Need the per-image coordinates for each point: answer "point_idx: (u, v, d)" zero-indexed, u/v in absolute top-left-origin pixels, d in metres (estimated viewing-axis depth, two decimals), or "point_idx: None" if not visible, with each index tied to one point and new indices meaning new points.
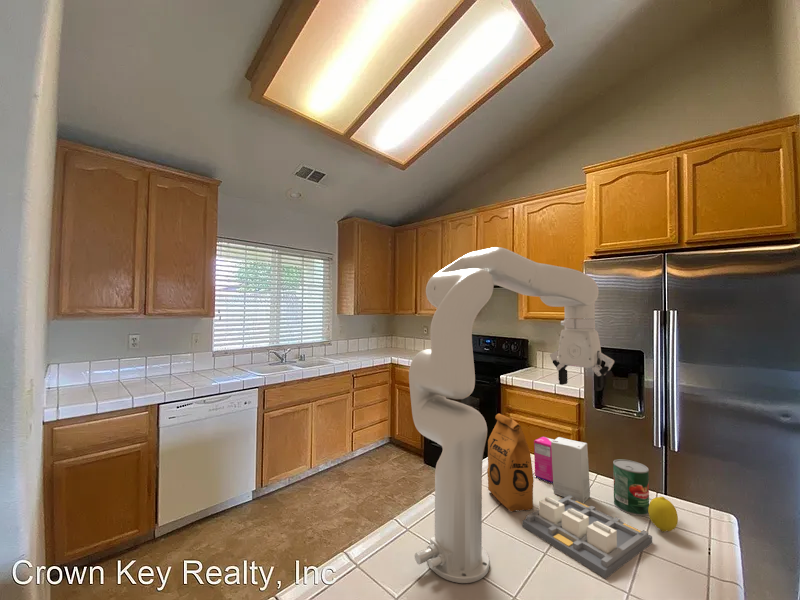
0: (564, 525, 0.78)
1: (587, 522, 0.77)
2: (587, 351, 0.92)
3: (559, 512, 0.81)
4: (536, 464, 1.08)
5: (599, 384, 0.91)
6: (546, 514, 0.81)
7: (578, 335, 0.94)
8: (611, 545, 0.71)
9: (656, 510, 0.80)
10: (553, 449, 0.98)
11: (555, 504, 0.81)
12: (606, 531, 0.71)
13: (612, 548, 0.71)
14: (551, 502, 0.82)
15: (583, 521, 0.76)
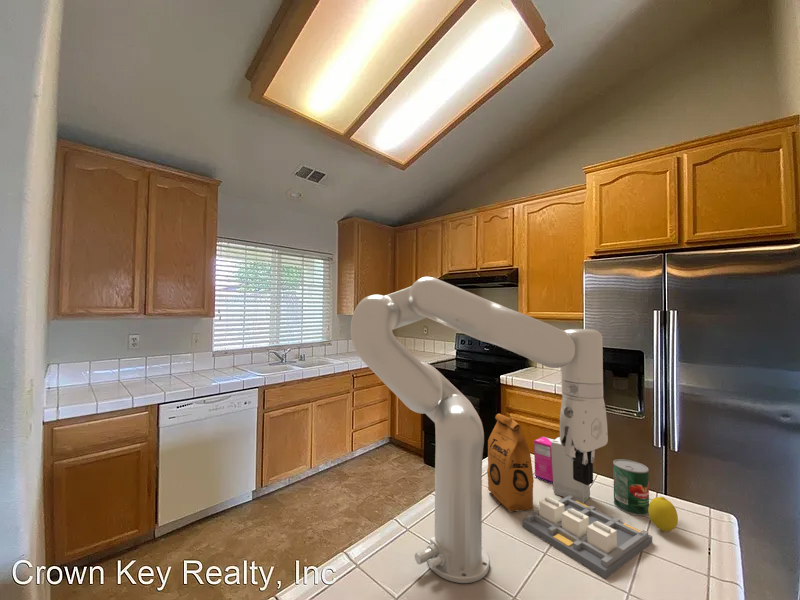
0: (564, 525, 0.78)
1: (587, 522, 0.77)
2: (605, 424, 0.70)
3: (559, 512, 0.81)
4: (536, 464, 1.08)
5: None
6: (546, 514, 0.81)
7: (598, 405, 0.68)
8: (611, 545, 0.71)
9: (656, 510, 0.80)
10: (553, 449, 0.98)
11: (555, 504, 0.81)
12: (606, 531, 0.71)
13: (612, 548, 0.71)
14: (551, 502, 0.82)
15: (583, 521, 0.76)
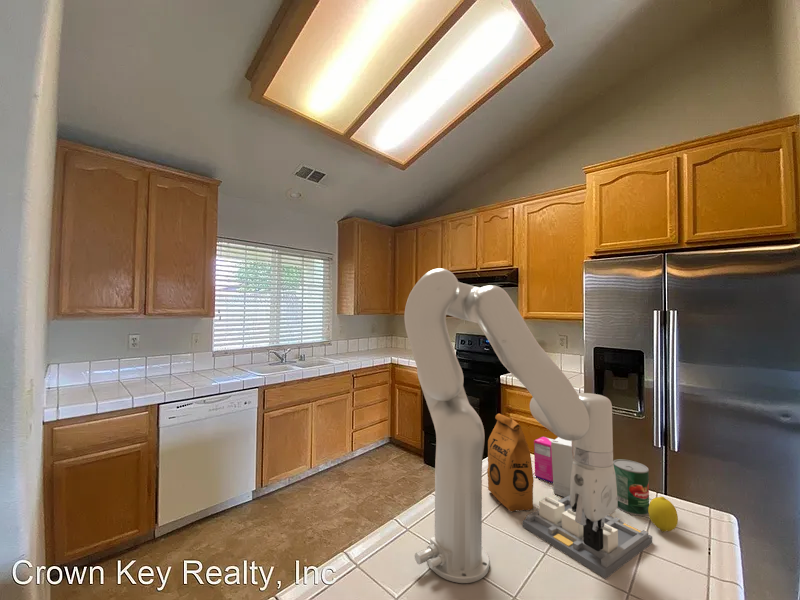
0: (564, 525, 0.78)
1: None
2: (614, 490, 0.71)
3: (559, 512, 0.81)
4: (536, 464, 1.08)
5: None
6: (546, 514, 0.81)
7: (608, 472, 0.70)
8: (612, 544, 0.71)
9: (656, 510, 0.80)
10: (553, 449, 0.98)
11: (555, 504, 0.81)
12: (607, 530, 0.72)
13: (613, 547, 0.71)
14: (551, 502, 0.82)
15: None
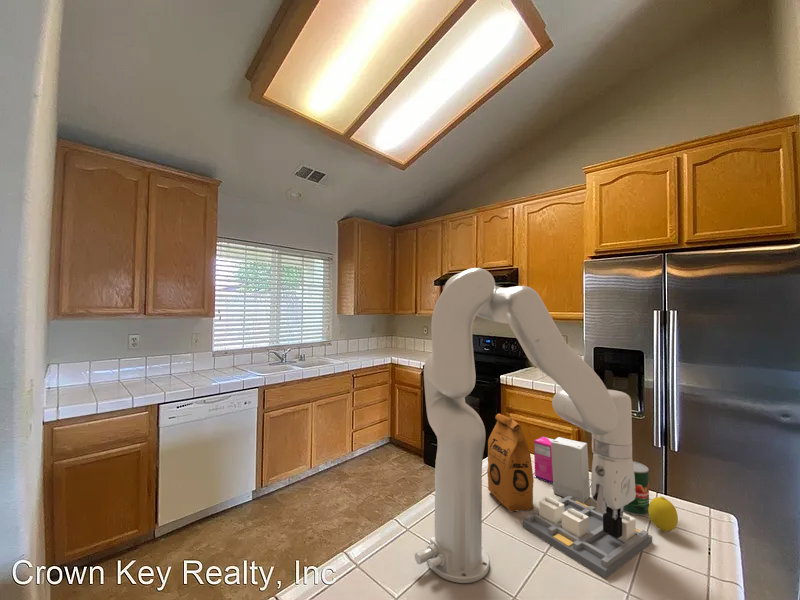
0: (564, 525, 0.78)
1: (587, 522, 0.77)
2: (633, 480, 0.75)
3: (559, 512, 0.81)
4: (536, 464, 1.08)
5: None
6: (546, 514, 0.81)
7: (627, 464, 0.74)
8: (630, 532, 0.75)
9: (656, 510, 0.80)
10: (553, 449, 0.98)
11: (555, 504, 0.81)
12: (625, 519, 0.76)
13: (631, 535, 0.75)
14: (551, 502, 0.82)
15: (583, 521, 0.76)
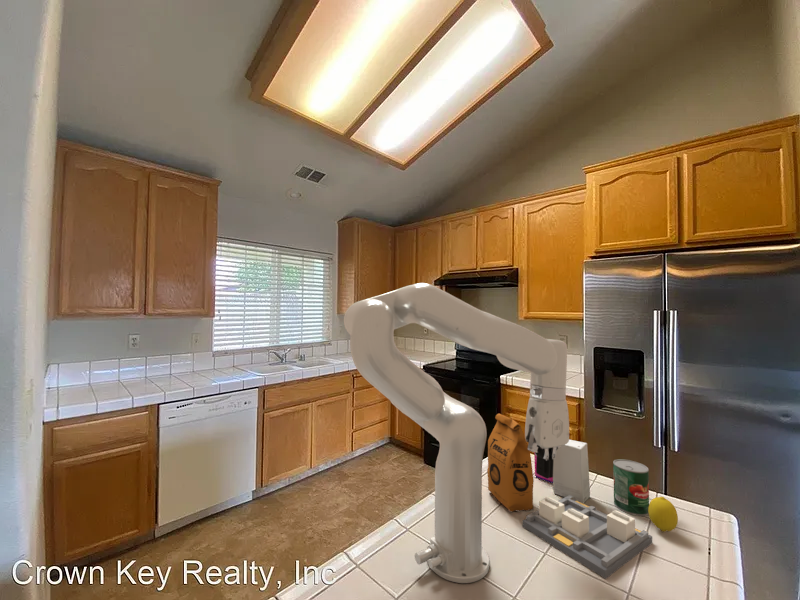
0: (564, 525, 0.78)
1: (587, 522, 0.77)
2: (566, 425, 0.78)
3: (559, 512, 0.81)
4: None
5: None
6: (546, 514, 0.81)
7: (560, 407, 0.77)
8: (630, 532, 0.75)
9: (656, 510, 0.80)
10: None
11: (555, 504, 0.81)
12: (625, 519, 0.76)
13: (631, 535, 0.75)
14: (551, 502, 0.82)
15: (583, 521, 0.76)
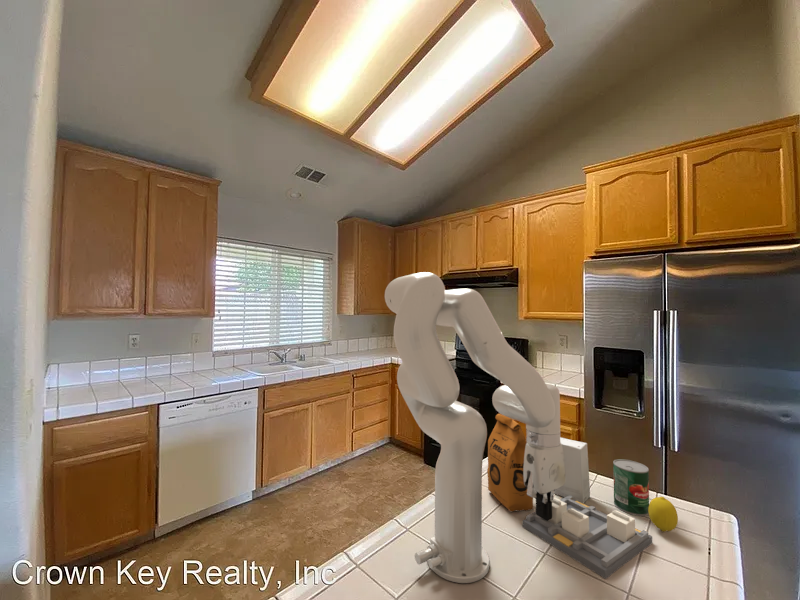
0: (564, 525, 0.78)
1: (587, 522, 0.77)
2: (562, 467, 0.81)
3: (561, 511, 0.81)
4: None
5: None
6: None
7: (556, 451, 0.80)
8: (630, 532, 0.75)
9: (656, 510, 0.80)
10: None
11: (557, 503, 0.82)
12: (625, 519, 0.76)
13: (631, 535, 0.75)
14: (553, 501, 0.83)
15: (583, 521, 0.76)
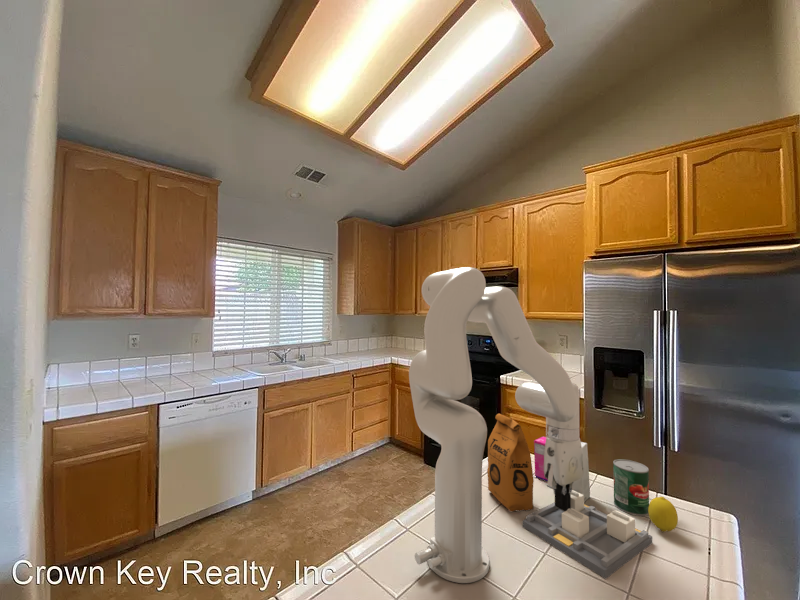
0: (564, 525, 0.78)
1: (587, 522, 0.77)
2: (581, 461, 0.85)
3: (579, 502, 0.85)
4: (536, 464, 1.08)
5: None
6: None
7: (575, 446, 0.84)
8: (630, 532, 0.75)
9: (656, 510, 0.80)
10: None
11: (575, 495, 0.86)
12: (625, 519, 0.76)
13: (631, 535, 0.75)
14: (571, 493, 0.87)
15: (583, 521, 0.76)
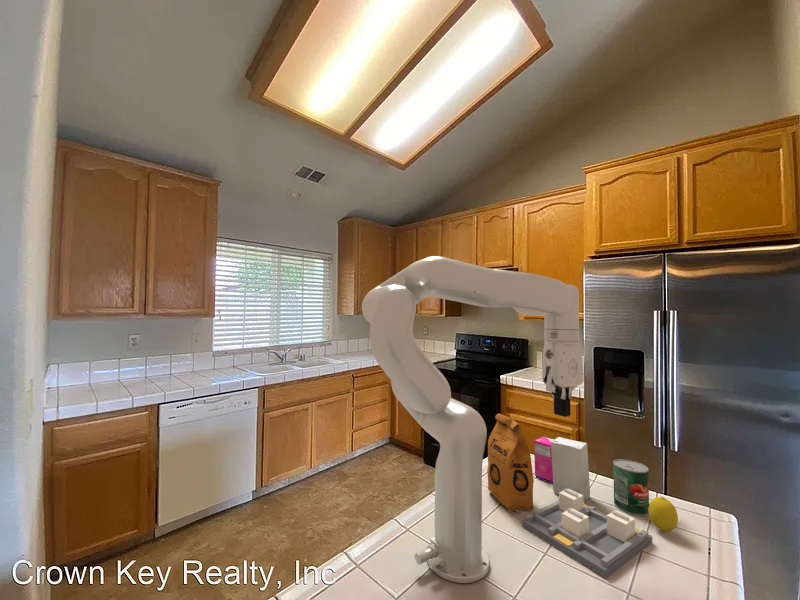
0: (564, 525, 0.78)
1: (587, 522, 0.77)
2: (581, 366, 0.81)
3: (578, 502, 0.85)
4: (536, 464, 1.08)
5: None
6: (566, 505, 0.86)
7: (575, 349, 0.80)
8: (630, 532, 0.75)
9: (656, 510, 0.80)
10: (553, 449, 0.98)
11: (574, 495, 0.86)
12: (625, 519, 0.76)
13: (631, 535, 0.75)
14: (570, 493, 0.86)
15: (583, 521, 0.76)
